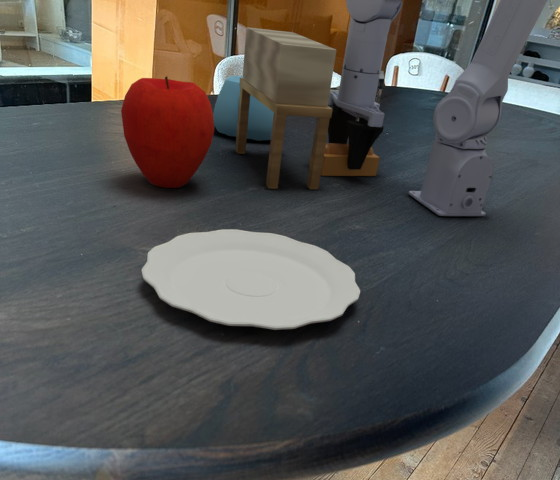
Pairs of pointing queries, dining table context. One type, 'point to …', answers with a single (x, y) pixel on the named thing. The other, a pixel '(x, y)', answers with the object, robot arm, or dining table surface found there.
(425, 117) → the dining table surface
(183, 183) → the apple
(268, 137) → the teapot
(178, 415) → the dining table surface
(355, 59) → the robot arm
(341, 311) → the plate
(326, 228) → the dining table surface
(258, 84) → the stand
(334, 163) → the low wooden box
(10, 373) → the dining table surface
